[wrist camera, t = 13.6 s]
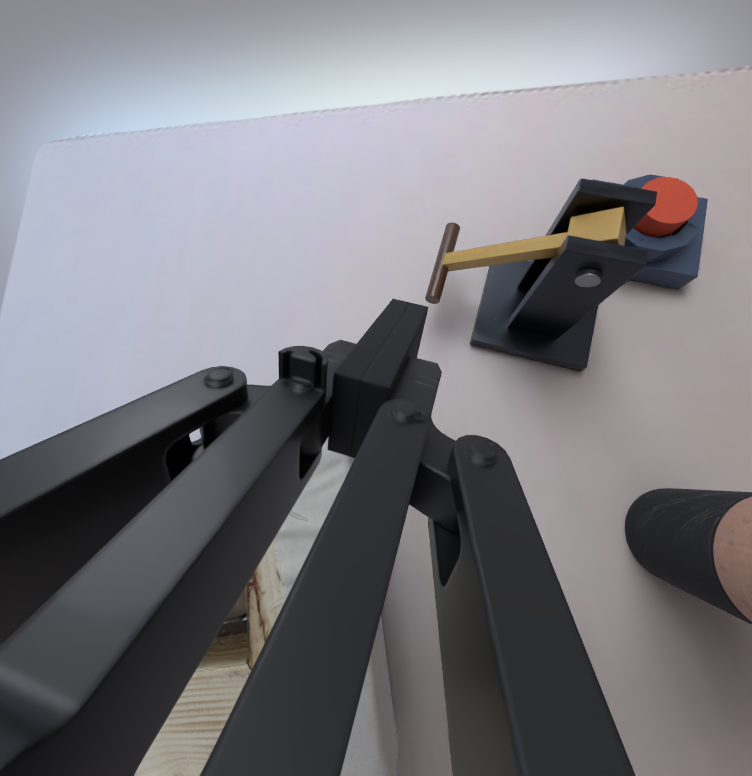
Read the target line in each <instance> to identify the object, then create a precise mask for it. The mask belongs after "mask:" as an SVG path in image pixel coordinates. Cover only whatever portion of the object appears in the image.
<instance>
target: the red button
mask: <svg viewBox="0 0 752 776" xmlns="http://www.w3.org/2000/svg"><path fill="white" fill-rule="evenodd" d="M642 189H647V190H653V191H657V192H658V193H657V199H656V204H655V206H654V207H653V208H652V209H651V210H650V211H649V212H648V213H647V214H646V215H645V216H644V217H643V218H642V220H641V221H640V222H639V223H638V224H637V225H636V226H635V227H634V229H636V230H637V231H639V232H640V233H641V234H643V235H646V236H651V237H663V236H667V235H669V234H671V233H673V232H674V231H675V230H677V229H678V228H679V227H680V226H681V225H682V224H684V223H685V222H686V221H687V220H688V219H689V218H690V217H692V216H693V214H694V213H695V211H696V209H697V206H698V199H697V195H696V193H695V192H694V190H693V189H692V188H691V187H690V186H689V185H688V184H687V183H685V182H683V181H681V180H679V179H676V178H671V177H661V178H656V179H653V180H651V181H649V182H648V183H647V184H645V185H644V187H643V188H642Z"/></svg>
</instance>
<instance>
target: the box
mask: <svg viewBox="0 0 752 776" xmlns="http://www.w3.org/2000/svg"><path fill="white" fill-rule="evenodd" d="M327 449H328V438H327V440H326V442H325V443H324V445H323V446H322V456H321V460H320V463H319V464H318V466H317V468H316V469H315V471H314V473H313V474H312V476H311V478H310V479H309V481H308V483H307V484H306V486H305V488H304V489H303V491H302V493H301V495H300V496H299V498H298V500H297V501H296V503H295V505H294V506H293V508H292V510H291V511H290V513H289V515H288V516H287V518H286V520H285V521H284V523H283V525H282V526H281V528H280V530H279V531H278V533H277V535H276V537H275V538H274V540H273V542H272V543H271V545H270V547H269V548H268V550H267V552H266V553H265V555H264V557H263V558H262V560H261V562H260V563H259V565H258V567H257V568H256V570H255V572H254V573H253V575H252V577H251V579H250V580H249V582H248V584H247V585H246V587H245V589H244V590H243V592H242V594H241V595H240V597H239V599H238V600H237V602H236V604H235V605H234V607H233V609H232V610H231V612H230V614H229V615H228V617H227V619H226V620H225V622H224V624H223V626H222V627H221V629H220V631H219V632H218V634H217V636H216V637H215V639H214V641H213V642H212V644H211V646H210V647H209V649H208V651H207V652H206V654H205V656H204V657H203V659H202V661H201V662H200V664H199V666H198V668H197V669H196V671H195V673H194V674H193V676H192V678H191V679H190V681H189V683H188V684H187V686H186V688H185V689H184V691H183V693H182V694H181V696H180V698H179V699H178V701H177V703H176V704H175V706H174V708H173V710H172V711H171V713H170V715H169V716H168V718H167V720H166V721H165V723H164V725H163V726H162V728H161V730H160V731H159V733H158V735H157V736H156V738H155V740H154V741H153V743H152V745H151V746H150V748H149V750H148V751H147V753H146V755H145V757H144V758H143V760H142V762H141V764H140V765H139V767H138V769H137V771H136V773H135V775H134V776H200V774H201V772H202V770H203V768H204V766H205V764H206V762H207V760H208V758H209V756H210V754H211V752H212V750H213V748H214V746H215V744H216V742H217V740H218V738H219V736H220V734H221V732H222V730H223V728H224V726H225V723H226V721H227V719H228V717H229V715H230V713H231V711H232V709H233V707H234V705H235V703H236V701H237V699H238V697H239V695H240V693H241V691H242V689H243V687H244V685H245V682H246V680H247V678H248V676H249V674H250V672H251V670H252V668H253V666H254V664H255V662H256V660H257V658H258V656H259V654H260V652H261V650H262V648H263V646H264V644H265V641H266V639H267V637H268V635H269V633H270V631H271V629H272V627H273V625H274V623H275V621H276V619H277V617H278V615H279V613H280V611H281V609H282V607H283V605H284V603H285V600H286V598H287V596H288V594H289V592H290V590H291V588H292V586H293V584H294V582H295V580H296V578H297V576H298V574H299V572H300V570H301V568H302V566H303V564H304V562H305V559H306V557H307V555H308V553H309V551H310V549H311V547H312V545H313V543H314V541H315V539H316V537H317V535H318V533H319V531H320V529H321V527H322V525H323V523H324V521H325V518H326V516H327V514H328V512H329V510H330V508H331V506H332V504H333V502H334V500H335V498H336V496H337V494H338V492H339V490H340V488H341V486H342V484H343V482H344V480H345V477H346V475H347V473H348V471H349V469H350V467H351V465H352V463H353V461H354V459H355V458H352V457H349V456H346V455H343V454H339V453H336V452H333V451H330V450H327ZM397 772H398V735H397V728H396V724H395V719H394V712H393V704H392V697H391V688H390V680H389V673H388V665H387V657H386V649H385V640H384V632H383V624H382V617H380V621H379V625H378V629H377V633H376V637H375V641H374V645H373V649H372V652H371V656H370V660H369V664H368V668H367V672H366V676H365V680H364V684H363V688H362V692H361V696H360V700H359V704H358V708H357V712H356V716H355V720H354V724H353V728H352V731H351V735H350V739H349V743H348V747H347V751H346V755H345V759H344V763H343V767H342V771H341V775H340V776H397Z"/></svg>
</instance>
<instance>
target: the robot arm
mask: <svg viewBox="0 0 752 776" xmlns="http://www.w3.org/2000/svg"><path fill="white" fill-rule="evenodd" d="M427 311H428V307H426V306H422V305H418V304H413V303H409V302H405V301H400V300H396V299H392V301H391V302H390V303H389V304H388V306H387V307H386V308H385V309H384V311H383V312H382V313H381V314H380V316H379V317H378V318H377V319H376V321H375V322H374V323H373V324H372V326H371V327H370V328H369V329H368V331H367V332H366V333H365V334H364V336H363V337H362V338H361V339H360V340H359V342H358V343H357V344H355V343H351V342H347V341H343V340H339V341H336V342H334V343H331V344H329V345H328V346H327V347H326V348H325V349H324V350H323V352H322V351H321V350H318V349H316V348H313V347H306V346H293V347H288V348H285V349H283V350H281V351H279V379H278V380H277V381H276V382H275V383H274V384H273V385H272V386H261V385H247V379H246V376H245V373H243V372H242V371H241V370H239V369H236V368H233V367H227V366H226V367H225V366H219V367H211V368H208V369H205V370H202V371H200V372H197V373H195V374H193V375H190V376H188V377H186V378H184V379H181V380H179V381H177V382H175V383H172V384H170V385H168V386H166V387H163V388H161V389H159V390H157V391H154V392H152V393H150V394H148V395H145V396H143V397H141V398H139V399H136V400H134V401H132V402H129V403H127V404H125V405H123V406H120V407H118V408H116V409H114V410H111V411H109V412H107V413H105V414H102V415H100V416H98V417H96V418H93V419H91V420H89V421H87V422H84V423H82V424H80V425H78V426H75V427H73V428H71V429H69V430H66V431H64V432H62V433H59V434H57V435H55V436H53V437H50V438H48V439H46V440H44V441H41V442H39V443H37V444H35V445H32V446H30V447H28V448H26V449H23V450H21V451H19V452H17V453H14V454H12V455H10V456H8V457H5V458H3V459H1V460H0V776H134V775H135V773H136V771H137V769H138V767H139V765H140V764H141V762H142V760H143V758H144V757H145V755H146V753H147V751H148V750H149V748H150V746H151V745H152V743H153V741H154V740H155V738H156V736H157V735H158V733H159V731H160V730H161V728H162V726H163V725H164V723H165V721H166V720H167V718H168V716H169V715H170V713H171V711H172V710H173V708H174V706H175V704H176V703H177V701H178V699H179V698H180V696H181V694H182V693H183V691H184V689H185V688H186V686H187V684H188V683H189V681H190V679H191V678H192V676H193V674H194V673H195V671H196V669H197V668H198V666H199V664H200V662H201V661H202V659H203V657H204V656H205V654H206V652H207V651H208V649H209V647H210V646H211V644H212V642H213V641H214V639H215V637H216V636H217V634H218V632H219V631H220V629H221V627H222V626H223V624H224V622H225V620H226V619H227V617H228V615H229V614H230V612H231V610H232V609H233V607H234V605H235V604H236V602H237V600H238V599H239V597H240V595H241V594H242V592H243V590H244V589H245V587H246V585H247V584H248V582H249V580H250V579H251V577H252V575H253V573H254V572H255V570H256V568H257V567H258V565H259V563H260V562H261V560H262V558H263V557H264V555H265V553H266V552H267V550H268V548H269V547H270V545H271V543H272V542H273V540H274V538H275V537H276V535H277V533H278V531H279V530H280V528H281V526H282V525H283V523H284V521H285V520H286V518H287V516H288V515H289V513H290V511H291V510H292V508H293V506H294V505H295V503H296V501H297V500H298V498H299V496H300V495H301V493H302V491H303V489H304V488H305V486H306V484H307V483H308V481H309V479H310V478H311V476H312V474H313V473H314V471H315V469H316V468H317V466H318V464H319V463H320V460H321V456H322V446H323V445H324V443H325V442H326V440H327V438H328V449H327V450H330V451H333V452H336V453H339V454H343V455H346V456H349V457H352V458H355V459H354V461H353V463H352V465H351V467H350V469H349V471H348V473H347V475H346V477H345V480H344V482H343V484H342V486H341V488H340V490H339V492H338V494H337V496H336V498H335V500H334V502H333V504H332V506H331V508H330V510H329V512H328V514H327V516H326V518H325V521H324V523H323V525H322V527H321V529H320V531H319V533H318V535H317V537H316V539H315V541H314V543H313V545H312V547H311V549H310V551H309V553H308V555H307V557H306V559H305V562H304V564H303V566H302V568H301V570H300V572H299V574H298V576H297V578H296V580H295V582H294V584H293V586H292V588H291V590H290V592H289V594H288V596H287V598H286V600H285V603H284V605H283V607H282V609H281V611H280V613H279V615H278V617H277V619H276V621H275V623H274V625H273V627H272V629H271V631H270V633H269V635H268V637H267V639H266V641H265V644H264V646H263V648H262V650H261V652H260V654H259V656H258V658H257V660H256V662H255V664H254V666H253V668H252V670H251V672H250V674H249V676H248V678H247V680H246V682H245V685H244V687H243V689H242V691H241V693H240V695H239V697H238V699H237V701H236V703H235V705H234V707H233V709H232V711H231V713H230V715H229V717H228V719H227V721H226V723H225V726H224V728H223V730H222V732H221V734H220V736H219V738H218V740H217V742H216V744H215V746H214V748H213V750H212V752H211V754H210V756H209V758H208V760H207V762H206V764H205V766H204V768H203V770H202V772H201V774H200V776H340V775H341V771H342V767H343V763H344V759H345V755H346V751H347V747H348V743H349V739H350V735H351V731H352V728H353V724H354V720H355V716H356V712H357V708H358V704H359V700H360V696H361V692H362V688H363V684H364V680H365V676H366V672H367V668H368V664H369V660H370V656H371V652H372V649H373V645H374V641H375V637H376V633H377V629H378V625H379V621H380V617H381V613H382V609H383V605H384V601H385V597H386V593H387V589H388V585H389V581H390V577H391V573H392V570H393V566H394V562H395V558H396V554H397V550H398V546H399V542H400V538H401V534H402V530H403V526H404V522H405V518H406V514H407V510H408V506H409V505H411V506H412V507H414V508H416V509H417V510H419V511H420V512H422V513H423V514H425V515H426V516H428V517H429V518H428V527H429V537H430V547H431V557H432V568H433V578H434V588H435V598H436V609H437V619H438V629H439V640H440V650H441V660H442V670H443V681H444V691H445V701H446V711H447V722H448V732H449V742H450V752H451V763H452V773H453V776H635V773H634V771H633V768H632V766H631V763H630V761H629V758H628V756H627V753H626V751H625V748H624V746H623V743H622V740H621V738H620V735H619V733H618V730H617V728H616V725H615V723H614V720H613V718H612V715H611V713H610V710H609V708H608V705H607V702H606V700H605V697H604V695H603V692H602V690H601V687H600V685H599V682H598V680H597V677H596V675H595V672H594V670H593V667H592V664H591V662H590V659H589V657H588V654H587V652H586V649H585V647H584V644H583V642H582V639H581V637H580V634H579V632H578V629H577V627H576V624H575V621H574V619H573V616H572V614H571V611H570V609H569V606H568V604H567V601H566V599H565V596H564V594H563V591H562V589H561V586H560V583H559V581H558V578H557V576H556V573H555V571H554V568H553V566H552V563H551V561H550V558H549V556H548V553H547V551H546V548H545V545H544V543H543V540H542V538H541V535H540V533H539V530H538V528H537V525H536V523H535V520H534V518H533V515H532V513H531V510H530V507H529V505H528V502H527V500H526V497H525V495H524V492H523V490H522V487H521V485H520V482H519V480H518V477H517V475H516V472H515V469H514V467H513V464H512V462H511V459H510V457H509V456H508V454H507V453H506V451H505V450H504V449H503V448H502V447H501V446H499V445H498V444H497V443H495V442H493V441H491V440H489V439H488V438H485V437H481V436H477V435H466V436H463V437H460V438H458V439H457V440H456V441H455V440H453V439H451V438H449V437H447V436H446V435H444V434H443V433H441V432H440V431H439V430H438V429H437V428H436V427H435V425H434V424H433V422H432V419H431V413H432V409H433V405H434V401H435V397H436V393H437V389H438V385H439V381H440V377H441V373H442V372H441V370H440V368H439V366H438V364H437V363H433V362H429V361H426V360H422V359H418V358H417V354H418V350H419V346H420V341H421V337H422V333H423V328H424V324H425V320H426V315H427ZM198 428H199V429H200V434H201V438H200V439H199V440H196V441H194V442H191V441H190V437H189V434H190V433H192V432H193V431H195V430H197V429H198Z"/></svg>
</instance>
